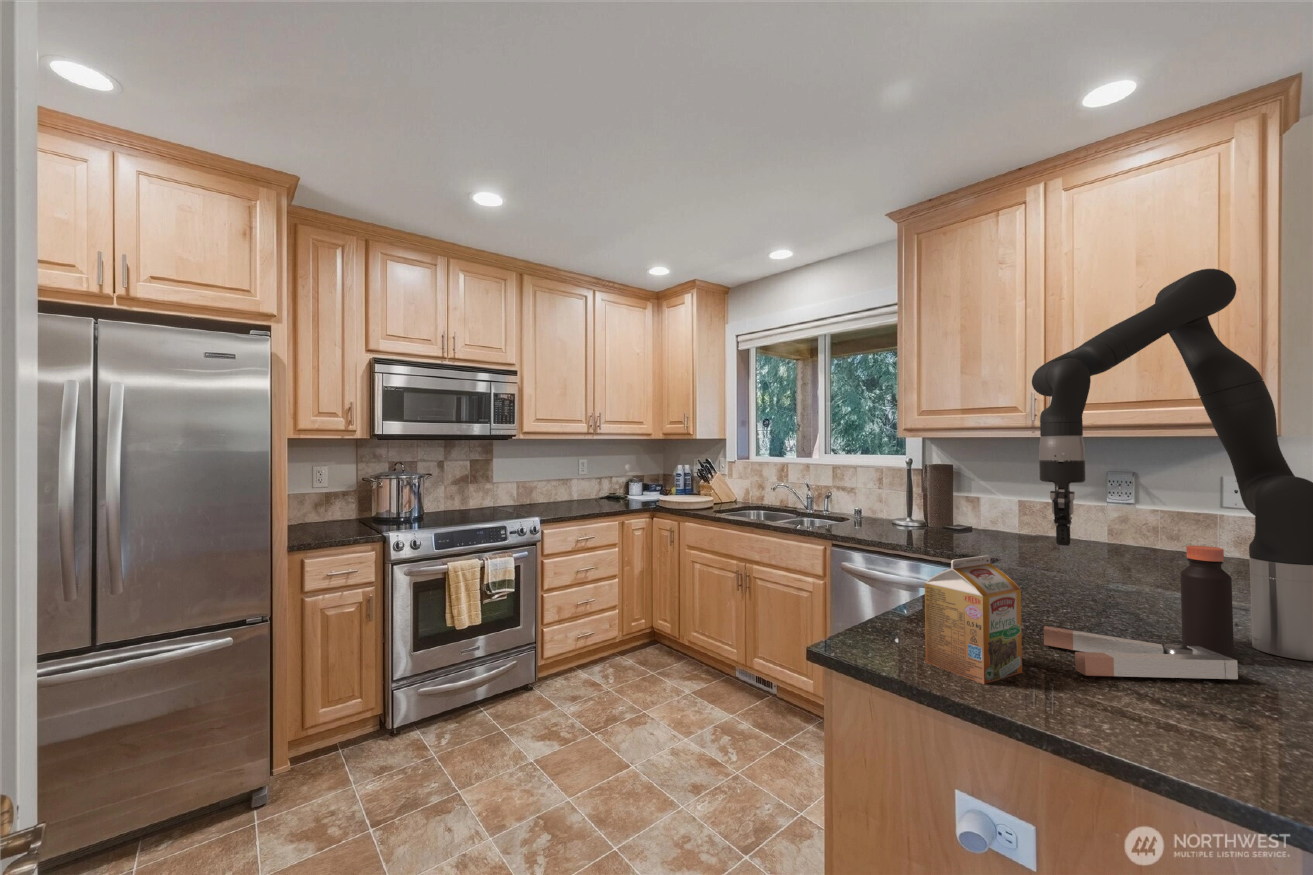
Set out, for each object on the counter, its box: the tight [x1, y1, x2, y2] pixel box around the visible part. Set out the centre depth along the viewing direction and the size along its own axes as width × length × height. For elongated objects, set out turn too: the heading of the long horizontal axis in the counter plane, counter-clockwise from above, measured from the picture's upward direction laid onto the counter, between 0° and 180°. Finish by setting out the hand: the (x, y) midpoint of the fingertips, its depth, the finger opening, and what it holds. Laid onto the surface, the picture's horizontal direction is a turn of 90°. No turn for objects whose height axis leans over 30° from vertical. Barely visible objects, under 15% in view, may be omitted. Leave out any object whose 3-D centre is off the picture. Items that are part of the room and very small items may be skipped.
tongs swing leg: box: [1043, 625, 1193, 655], centre depth 101 cm, size 21×4×3 cm, turn 52°
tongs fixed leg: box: [1074, 646, 1239, 680], centre depth 94 cm, size 24×7×3 cm, turn 87°
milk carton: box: [924, 555, 1023, 685], centre depth 97 cm, size 11×11×19 cm
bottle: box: [1179, 544, 1235, 659], centre depth 102 cm, size 7×7×20 cm
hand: (1063, 544), depth 112 cm, fingers closed
